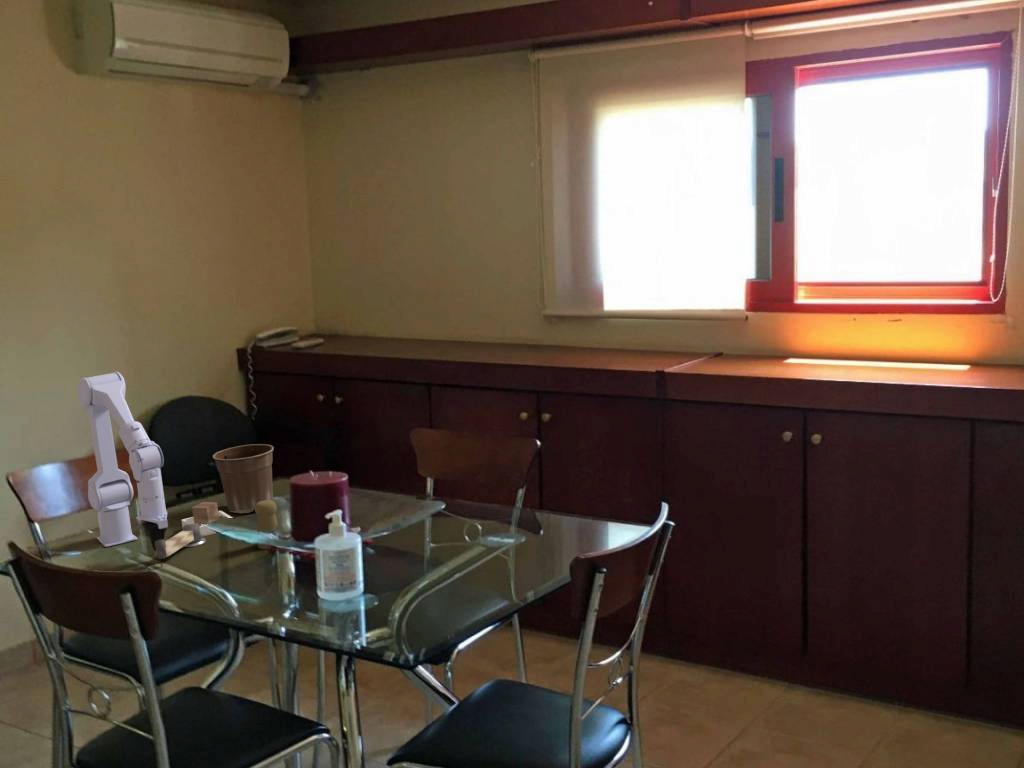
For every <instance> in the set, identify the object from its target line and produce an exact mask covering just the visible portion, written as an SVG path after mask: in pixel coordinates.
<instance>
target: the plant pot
mask: <svg viewBox="0 0 1024 768" xmlns="http://www.w3.org/2000/svg"><path fill="white" fill-rule="evenodd" d="M274 448H275V447H274V446H273V445H271V444H267V443H266V444H265V443H264V444H263V443H259V444H257V443H256V444H245V445H239V446H238V445H237V446H234V447H233V446H232V447H227V448H226V449H222V450H220V451H219V450H218V451H216V452H215V453H214V454H213V455H212V459H213V460H214V462H215V465H216V469H217V471H218V473H219V477H220V480H221V484H222V488H223V489H222V490H223V492H224V493H223V494H224V496H225V501H226V506H227V509H228V510H227V511H229V512H230V511H236V510H245V509H251V508H255V505H256V504H257V503H258V502H260V501H264V500H272V499H273V500H274V492H273V491H274V490H273V488H274V486H273V468H272V467H273V466H272V464H273V459H274V458H273V452H274Z"/></svg>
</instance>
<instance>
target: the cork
mask: <svg viewBox="0 0 1024 768" xmlns="http://www.w3.org/2000/svg"><path fill="white" fill-rule="evenodd" d="M277 509H278V507H277V504H276V501H274V500H273V501H272V500H264V501H260V502H258V503H257V504H256V505H255V511H254V512H255V515H257V531H258V530H259V531H267V530H272V529H274V528H275V527H276V526H277V524H278V523H279V522H278V520H277V516H276V512H277ZM278 525H279V524H278ZM257 547H258V548H259V549H263V550H264V549H266V550H267V549H268V550H269V549H272V548H271V547H267V546H262V545H258V544H257Z"/></svg>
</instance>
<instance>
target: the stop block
mask: <svg viewBox="0 0 1024 768" xmlns="http://www.w3.org/2000/svg"><path fill="white" fill-rule="evenodd" d="M218 507H219V506H218V502H212V501H211V502H209V501H206V502H203V501H202V502H199V503H198V504H196V505H194V506H192V507H191V510H192V517H193V518H194V524H199V526H201V524H209V523H211V522H213V521H216V520H218V519H219V514H218V511H219V509H218Z"/></svg>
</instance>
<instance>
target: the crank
mask: <svg viewBox="0 0 1024 768" xmlns="http://www.w3.org/2000/svg"><path fill="white" fill-rule="evenodd" d="M201 538H202V537H201V533H200V526H199V524H188V525H185V526H183V528H182V530H181V531H180V532H178V533H177V534H174V536H172V537H169V538H168V539H167V540H166V539H165V538H164V539H161V540H157V541H155V548H156V551H155V553H156V558H157V559H158V560H160V559H161V560H163V559H166V558H167V557H168V558H169V556H171V555H172V554H175V553H176V552H177V551H179V550H180V549H182V548H184V547H183V546H185V545H187V544H188V543H194V542H198V541H200V540H201Z"/></svg>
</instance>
